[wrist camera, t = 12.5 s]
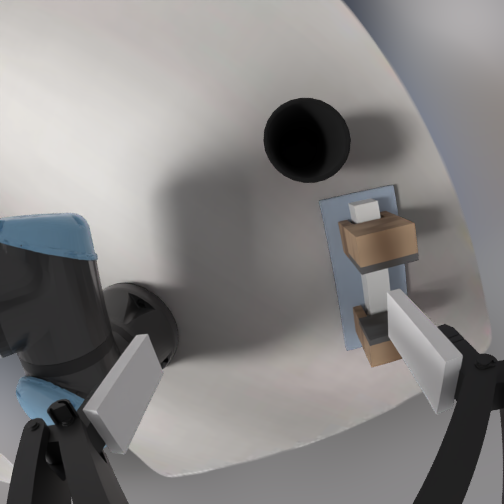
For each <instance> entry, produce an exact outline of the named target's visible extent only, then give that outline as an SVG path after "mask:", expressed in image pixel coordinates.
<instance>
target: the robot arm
mask: <svg viewBox="0 0 504 504" xmlns="http://www.w3.org/2000/svg"><path fill="white" fill-rule="evenodd" d="M97 259H98V258H97V254H96V253H95V251H94V246H93V242H92V237H91V232H90V227H89V225H88V223H87V221H86V220H85V219H84V218H83V217H82V216H80V215H78V214H75V213H53V214H36V215H23V216H12V217H4V218H0V358H3V357H6V356H9V355H12V354H14V353H17V354H18V356H19V359H20V361H21V364H22V366H23V368H24V371H25V377H21V378H20V379H19V383H18V385H17V390H16V395H17V399H18V401H19V403H20V405H21V407H22V408H23V410H24V411H25V412H26V414H27V415H28V416H29V417H30V419H31V420H30V421H28V423H27V424H26V425H25V427H24V429H23V433H22V436H21V440H20V443H19V448H18V451H17V455H16V460H15V463H14V468H13V472H12V477H11V482H10V487H9V493H8V499H7V504H71V497H72V501H73V504H128V501H127V499H126V497H125V495H124V493H123V491H122V489H121V487H120V485H119V483H118V481H117V478H116V476H115V474H114V472H113V469H112V467H111V465H110V463H109V460H108V458H107V456H106V454H105V453H104V451H103V448H105V447H106V446H107V447H108V448H109V449H110V451H111V452H112V453H120V454H125V453H126V451H127V449H128V447H129V445H130V443H131V440H132V438H133V436H134V434H135V432H136V430H137V428H138V426H139V423H140V421H141V419H142V417H143V415H144V413H145V411H146V409H147V407H148V405H149V402H150V400H151V398H152V396H153V394H154V392H155V390H156V388H157V386H158V384H159V382H160V380H161V378H162V376H163V374H164V372H163V370H162V369H163V368H165V367H166V366H167V364H168V363H169V362H170V361H171V359H172V357H173V355H174V353H175V351H176V349H177V345H178V330H177V325H176V322H175V320H174V318H173V316H172V314H171V312H170V311H169V309H168V308H167V307H166V305H165V304H164V303H163V302H162V301H161V300H160V299H159V298H158V297H157V296H155V295H154V294H153V293H151V292H150V291H148V290H146V289H144V288H142V287H140V286H137V285H133V284H127V283H120V284H114V285H111V286H109V287H107V288H105V289H104V290H103V291H102V286H101V282H100V277H99V272H98V266H97ZM387 307H388V336H389V338H390V340H391V341H392V343H393V344H394V346H395V347H396V349H397V351H398V352H399V354H400V355H401V357H402V358H403V360H404V362H405V363H406V365H407V366H408V368H409V370H410V371H411V373H412V375H413V376H414V378H415V380H416V381H417V383H418V385H419V386H420V388H421V390H422V391H423V393H424V394H425V396H426V398H427V399H428V401H429V403H430V405H431V407H432V408H433V410H434V412H435V413H436V415H437V414H440V413H442V412H445V411H447V410H450V409H452V407H453V403H454V399H456V401H457V403H456V406H455V409H454V412H453V415H452V418H451V421H450V423H449V426H448V429H447V431H446V434H445V436H444V439H443V441H442V444H441V446H440V449H439V451H438V454H437V456H436V458H435V460H434V462H433V465H432V467H431V469H430V471H429V473H428V475H427V477H426V479H425V481H424V483H423V486H422V488H421V489H420V491H419V493H418V495H417V497H416V499H415V500H414V502H413V504H462V502H463V500H464V498H465V495H466V492H467V490H468V487H469V484H470V481H471V479H472V476H473V473H474V471H475V468H476V464H477V461H478V458H479V455H480V452H481V448H482V445H483V441H484V437H485V434H486V430H487V425H488V421H489V417H490V412H491V411H492V410H498V409H500V416H501V427H502V443H503V493H502V504H504V360H503V361H497V359H496V358H495V357H493V356H491V355H489V354H479V353H478V352H477V351H476V350H475V349H474V348H473V347H472V346H471V345H470V344H469V343H468V342H467V341H466V340H464V338H463V337H462V336H461V335H460V334H459V333H458V332H457V331H456V330H455V329H454V328H453V327H451V326H448V325H446V324H444V325H441V326H438V327H437V326H436V325H435V324H434V323H433V322H432V321H431V320H430V319H429V318H428V317H427V316H426V315H425V314H424V313H423V312H422V311H421V310H420V309H419V308H418V307H417V305H416V304H415V303H414V302H413V301H412V300H411V299H410V298H409V297H408V296H407V295H406V294H405V293H404V292H403V291H402V290H401V289H396V290H392V291H388V292H387Z"/></svg>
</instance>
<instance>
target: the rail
mask: <svg viewBox="0 0 504 504" xmlns="http://www.w3.org/2000/svg"><path fill="white" fill-rule="evenodd" d="M319 204H320V209H321V213H322V218H323V223H324V227H325V232H326V237H327V242H328V247H329V252H330V257H331V262H332V267H333V273H334V278H335V284H336V290H337V295H338V301H339V307H340V314H341V320H342V326H343V333H344V340H345V347H346V350H347V351H348V350H352V349H356V348H360V347H362V344H361V342H360V340H359V338H358V335H357V333H356V330H355V322H354V314H353V307H355V306H359V305H361V306H362V308H363V310H364V311H365V313H366V315H367V316H370V315H374V314H378V313H381V312H385V311H388V307H387V292H388V291H392V290H396V289H401V290H402V291H403V292H404V293H405V294H406V295H407V285H406V273H405V264H402V265H398V266H394V267H390V268H387V269H383V270H379V271H375V272H371V273H367V274H364V275H361V273H360V272H359V271H358V269H357V268H356V267H355V266H354V264H353V263H352V262H351V261H350V259H349V258H348V257H347V255H346V254H345V253H344V251H343V246H342V240H341V235H340V230H339V225H338V222H339V221H343V220H348V221H349V222H351V223H352V224H353V225H354V224H358V223H363V222H367V221H371V220H375V219H380V218H381V217H380V212H383V211H387V212H390V213H392V214H395V215H397V216H398V210H397V204H396V198H395V192H394V187H393V185H388V186H383V187H378V188H374V189H369V190H364V191H360V192H355V193H350V194H346V195H341V196H337V197H332V198H328V199H324V200H319Z"/></svg>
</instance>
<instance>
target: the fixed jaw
mask: <svg viewBox="0 0 504 504" xmlns="http://www.w3.org/2000/svg"><path fill="white" fill-rule="evenodd" d="M380 217H381V218H380V219H375V220H371V221H367V222H363V223H358V224H354V225H353V224H352V223H351V222H349V221H348V220H343V221H339V222H338V225H339V230H340V235H341V240H342V246H343V251H344V253H345V254H346V255H347V257H348V258H349V259H350V261H351V262H352V263H353V264H354V266H355V267H356V268H357V269H358V271H359V272H360V273H361V275H364V274H367V273H371V272H375V271H379V270H383V269H387V268H390V267H394V266H398V265H402V264H405V263H409V262H413V261H416V260H419V259H418V248H417V239H416V230H415V223H413V222H411V221H409V220H406V219H404V218H402V217H399V216H397V215H395V214H392V213H390V212H387V211H383V212H380Z"/></svg>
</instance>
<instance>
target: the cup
mask: <svg viewBox="0 0 504 504" xmlns="http://www.w3.org/2000/svg"><path fill="white" fill-rule="evenodd" d="M350 142H351V139H350V134H349V129H348V127H347V124H346V122H345V120H344V119H343V117H342V116H341V115H340V113H339V112H338V111H337V110H335V109H334V108H333V107H332V106H331V105H329V104H327V103H325V102H323V101H321V100H317V99H313V98H298V99H294V100H290V101H288V102H286V103H284V104H282V105H281V106H279V107H278V108H277V109H276V110H275V111H274V112H273V113H272V115H271V116H270V118H269V119H268V121H267V124H266V127H265V130H264V146H265V151H266V154H267V156H268V158H269V160H270V162H271V163H272V164H273V166H274V167H275V168H276V169H277V170H278V171H279V172H280V173H282V174H283V175H284V176H286V177H288V178H290V179H292V180H295V181H299V182H303V183H315V182H319V181H323V180H326V179H327V178H329V177H331V176H333V175H334V174H335V173H337V172H338V171H339V170H340V169H341V168H342V166H343V165H344V163H345V162H346V160H347V157H348V154H349V151H350Z"/></svg>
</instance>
